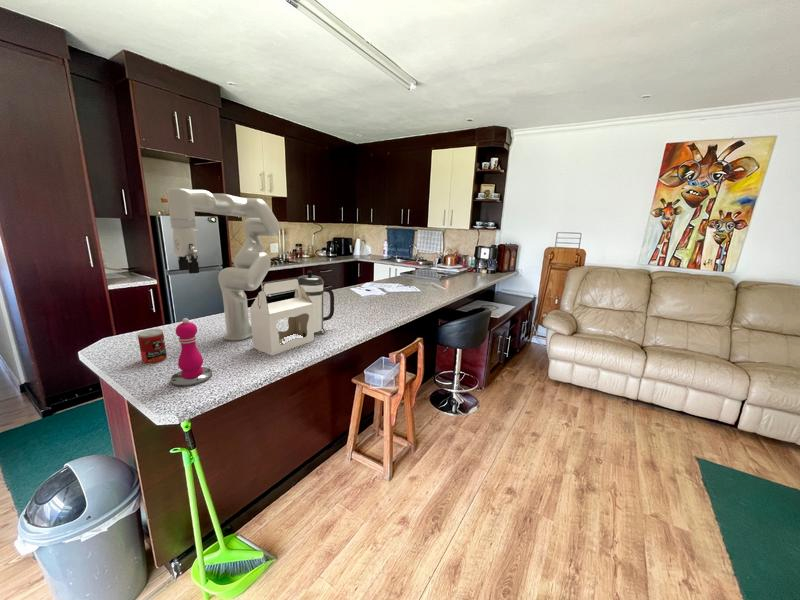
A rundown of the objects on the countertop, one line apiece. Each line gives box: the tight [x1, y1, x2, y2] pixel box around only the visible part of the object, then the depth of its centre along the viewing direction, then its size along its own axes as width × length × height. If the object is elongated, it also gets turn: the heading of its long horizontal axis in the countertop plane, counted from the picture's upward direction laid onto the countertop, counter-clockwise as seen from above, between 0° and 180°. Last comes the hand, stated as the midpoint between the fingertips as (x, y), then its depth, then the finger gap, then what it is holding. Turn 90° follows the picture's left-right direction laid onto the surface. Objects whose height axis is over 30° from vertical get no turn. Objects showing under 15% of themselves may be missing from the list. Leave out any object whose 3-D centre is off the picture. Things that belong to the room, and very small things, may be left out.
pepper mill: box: [175, 317, 204, 379], centre depth 111 cm, size 7×7×20 cm
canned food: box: [137, 328, 168, 365], centre depth 125 cm, size 8×8×11 cm
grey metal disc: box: [170, 366, 213, 388], centre depth 113 cm, size 12×12×2 cm
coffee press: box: [297, 270, 335, 337], centre depth 158 cm, size 17×16×30 cm
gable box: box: [249, 278, 315, 356], centre depth 142 cm, size 22×13×28 cm, turn 144°
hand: (189, 271), depth 124 cm, fingers open, 9 cm apart
